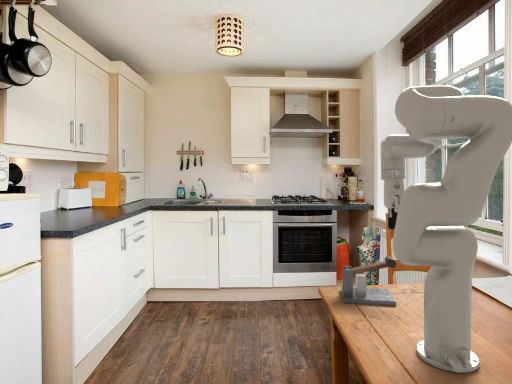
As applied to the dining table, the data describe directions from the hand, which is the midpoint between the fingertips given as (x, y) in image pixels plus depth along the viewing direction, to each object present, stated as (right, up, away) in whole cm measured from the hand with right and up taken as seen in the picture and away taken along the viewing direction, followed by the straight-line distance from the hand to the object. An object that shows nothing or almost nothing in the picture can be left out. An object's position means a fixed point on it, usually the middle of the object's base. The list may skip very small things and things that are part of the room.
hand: (393, 228), depth 107 cm
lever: (-7, -15, +4) cm, 17 cm away
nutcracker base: (-8, -25, +5) cm, 27 cm away
